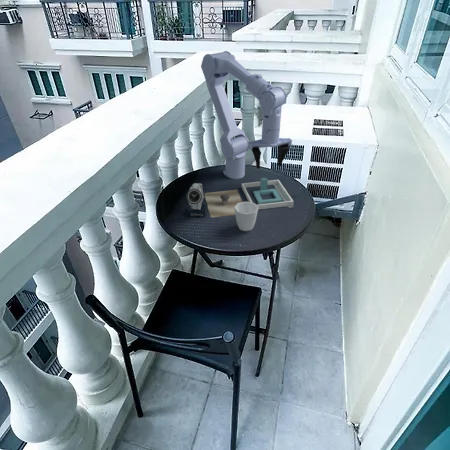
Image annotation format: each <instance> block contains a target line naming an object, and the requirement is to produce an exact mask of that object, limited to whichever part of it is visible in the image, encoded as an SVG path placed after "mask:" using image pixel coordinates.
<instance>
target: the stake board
mask: <svg viewBox="0 0 450 450" xmlns="http://www.w3.org/2000/svg"><path fill="white" fill-rule="evenodd" d="M203 196H204V199H205V202H206V204H208V213H209V217H210V218H218V217H219V218H221V217H229V216H236V215H235V209H234V207H235V206H236V205H237V204H238V203H241V202H243V199H242V198H241V195H240V193H239V191H238V189H230V190H222V191H212V192H203Z"/></svg>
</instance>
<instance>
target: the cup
mask: <svg viewBox="0 0 450 450" xmlns="http://www.w3.org/2000/svg"><path fill="white" fill-rule="evenodd" d="M256 205H257V204H256V203H254V202H253V203H251V202H248V200H247V201H242V202H241V203H238V204H237V205H236V206H235V207H234V209H235V215H234V216H235V221H236V224H237V227H238V228H239V230H240V231H242V232H249V231H252V230H253V228H254V227H255V225H256V221H257V216H258V211H259V210H258V207H257V206H256Z"/></svg>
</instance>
